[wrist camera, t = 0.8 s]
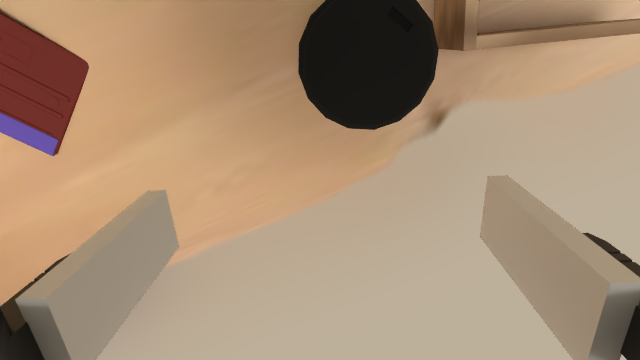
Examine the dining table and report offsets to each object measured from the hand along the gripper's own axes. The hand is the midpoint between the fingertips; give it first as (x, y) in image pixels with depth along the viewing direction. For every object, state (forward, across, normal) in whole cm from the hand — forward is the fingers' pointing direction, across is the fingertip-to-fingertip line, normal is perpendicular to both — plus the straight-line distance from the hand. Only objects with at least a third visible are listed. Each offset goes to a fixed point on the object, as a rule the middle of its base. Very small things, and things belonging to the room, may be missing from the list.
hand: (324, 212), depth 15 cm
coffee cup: (+27, +3, +5) cm, 28 cm away
